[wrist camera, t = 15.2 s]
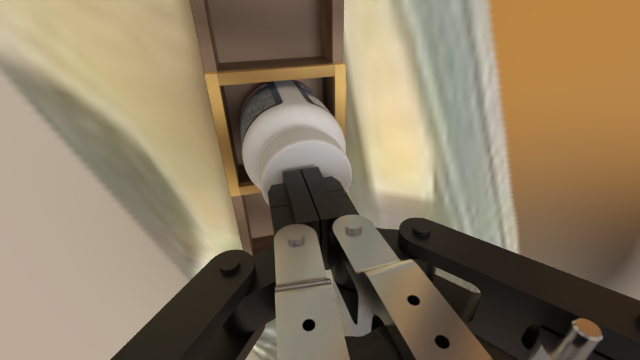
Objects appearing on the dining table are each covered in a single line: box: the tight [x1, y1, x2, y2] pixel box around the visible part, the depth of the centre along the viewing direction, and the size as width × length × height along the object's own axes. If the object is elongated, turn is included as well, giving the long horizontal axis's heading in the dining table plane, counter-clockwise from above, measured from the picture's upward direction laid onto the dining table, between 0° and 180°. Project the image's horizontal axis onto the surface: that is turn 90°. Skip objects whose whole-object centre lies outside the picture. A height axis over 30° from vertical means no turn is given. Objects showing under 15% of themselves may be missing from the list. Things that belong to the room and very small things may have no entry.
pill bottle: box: [240, 80, 352, 205], centre depth 17 cm, size 5×5×9 cm
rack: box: [190, 0, 346, 256], centre depth 20 cm, size 21×8×4 cm, turn 3°
